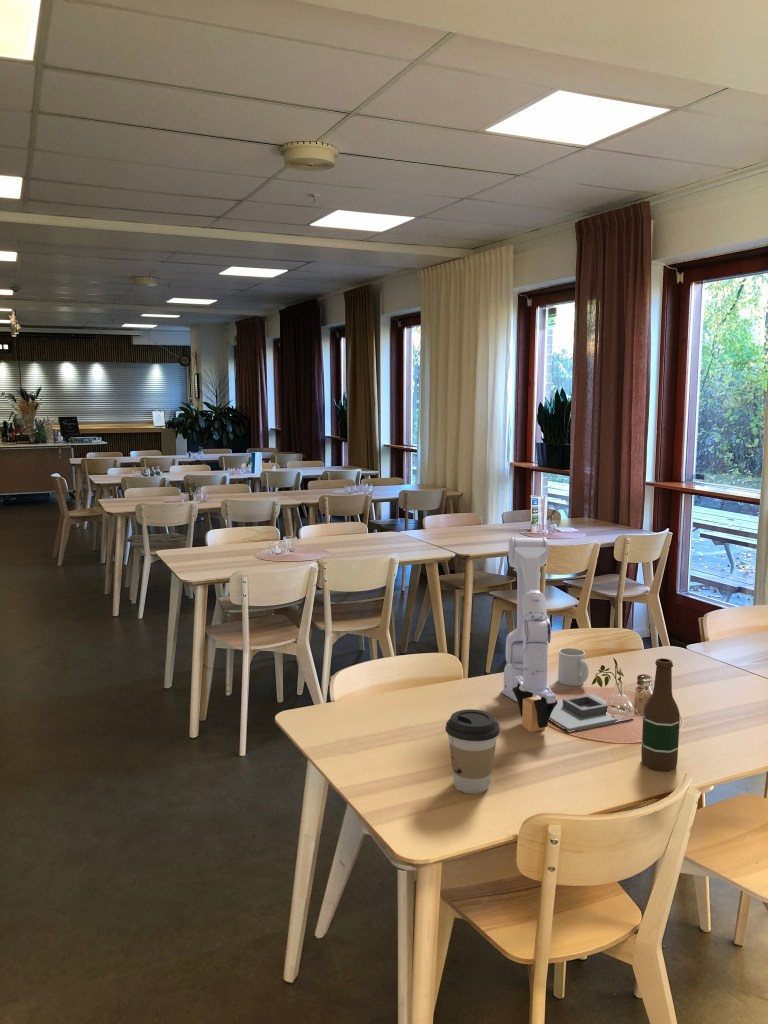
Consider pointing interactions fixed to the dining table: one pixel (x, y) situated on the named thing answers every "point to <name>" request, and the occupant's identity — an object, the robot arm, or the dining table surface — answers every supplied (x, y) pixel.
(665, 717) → the beer bottle
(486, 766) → the coffee cup
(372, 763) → the dining table surface
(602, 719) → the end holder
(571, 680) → the cup
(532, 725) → the orange rectangular block
